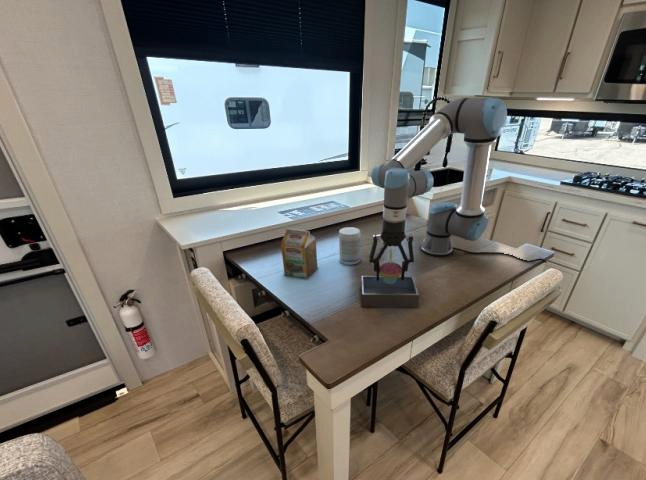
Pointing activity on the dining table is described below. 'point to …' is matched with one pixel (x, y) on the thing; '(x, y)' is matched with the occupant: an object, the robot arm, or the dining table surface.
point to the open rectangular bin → (389, 292)
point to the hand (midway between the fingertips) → (389, 278)
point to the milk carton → (299, 253)
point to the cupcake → (390, 271)
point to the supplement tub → (349, 245)
